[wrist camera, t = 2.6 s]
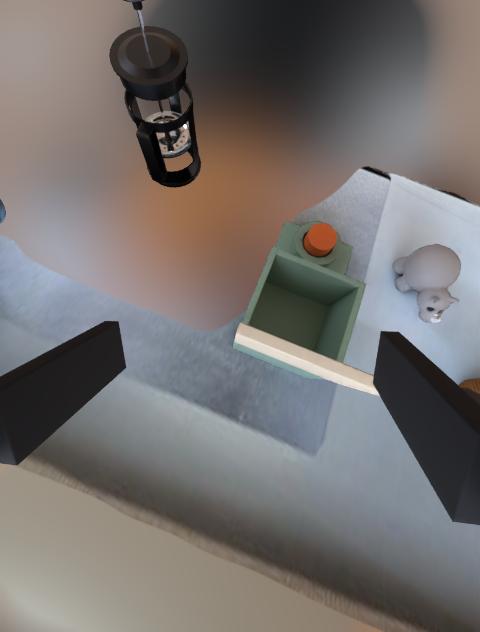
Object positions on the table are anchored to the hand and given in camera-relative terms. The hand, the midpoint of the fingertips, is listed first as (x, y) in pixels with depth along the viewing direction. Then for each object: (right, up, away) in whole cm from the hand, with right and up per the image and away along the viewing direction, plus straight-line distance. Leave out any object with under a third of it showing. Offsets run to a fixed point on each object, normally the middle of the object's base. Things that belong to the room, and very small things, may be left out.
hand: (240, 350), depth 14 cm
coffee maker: (+7, 0, +29) cm, 30 cm away
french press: (-12, +28, +34) cm, 46 cm away
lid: (+6, -2, +10) cm, 12 cm away
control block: (+12, +11, +32) cm, 36 cm away
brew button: (+12, +13, +29) cm, 34 cm away
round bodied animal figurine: (+29, +6, +32) cm, 43 cm away
